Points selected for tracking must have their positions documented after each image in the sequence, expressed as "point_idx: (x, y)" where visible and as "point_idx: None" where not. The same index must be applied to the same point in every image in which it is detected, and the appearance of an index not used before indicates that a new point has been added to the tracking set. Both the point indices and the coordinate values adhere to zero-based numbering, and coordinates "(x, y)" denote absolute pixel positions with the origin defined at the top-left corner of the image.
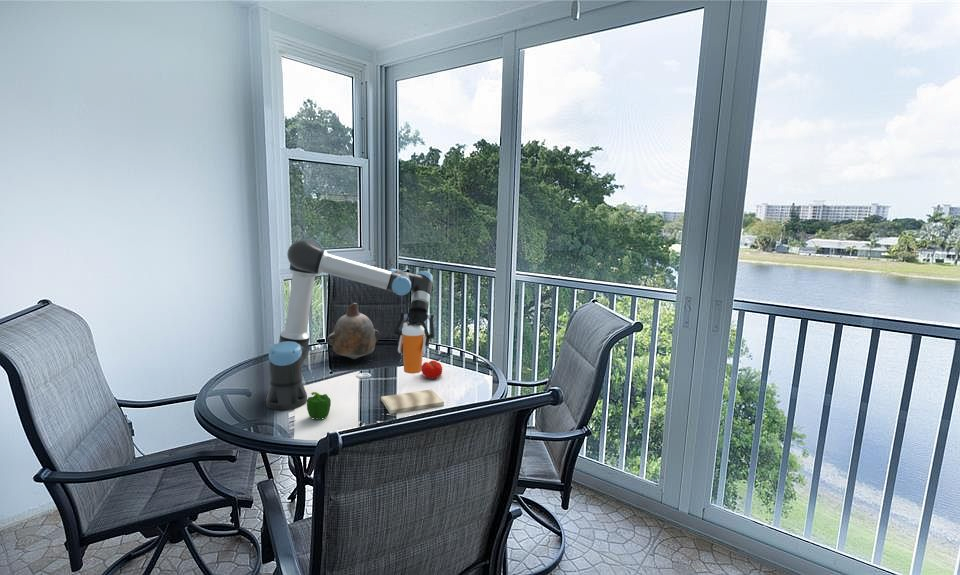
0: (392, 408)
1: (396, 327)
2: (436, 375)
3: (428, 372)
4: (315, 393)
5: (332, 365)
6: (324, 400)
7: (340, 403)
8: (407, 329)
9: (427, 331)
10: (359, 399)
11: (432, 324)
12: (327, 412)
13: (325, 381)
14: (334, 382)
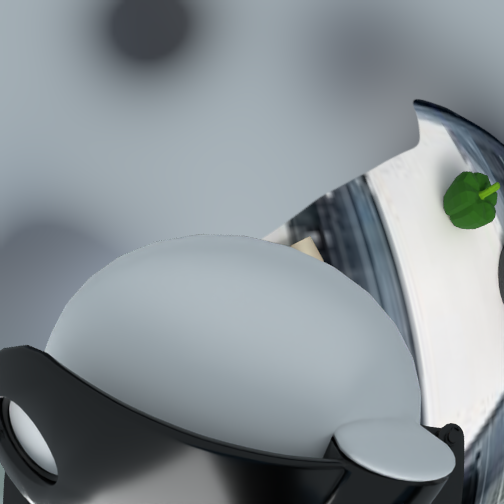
0: (306, 249)
1: (459, 491)
2: None
3: None
4: (493, 184)
5: (473, 486)
6: (467, 181)
7: (445, 291)
8: (308, 275)
9: None
10: (412, 326)
11: (7, 498)
12: (446, 196)
13: (488, 408)
14: (474, 411)
